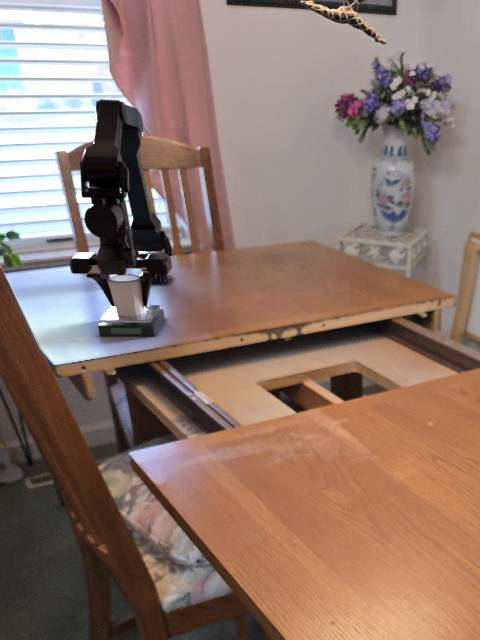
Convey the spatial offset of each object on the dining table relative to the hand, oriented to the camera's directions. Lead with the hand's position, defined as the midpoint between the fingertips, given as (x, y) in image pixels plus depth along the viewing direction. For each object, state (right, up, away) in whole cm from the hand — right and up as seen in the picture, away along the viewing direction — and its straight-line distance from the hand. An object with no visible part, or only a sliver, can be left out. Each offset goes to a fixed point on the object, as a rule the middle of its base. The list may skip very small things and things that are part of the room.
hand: (129, 306), depth 147 cm
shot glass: (0, -1, +1) cm, 1 cm away
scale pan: (0, -1, +1) cm, 2 cm away
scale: (0, -4, +2) cm, 4 cm away
